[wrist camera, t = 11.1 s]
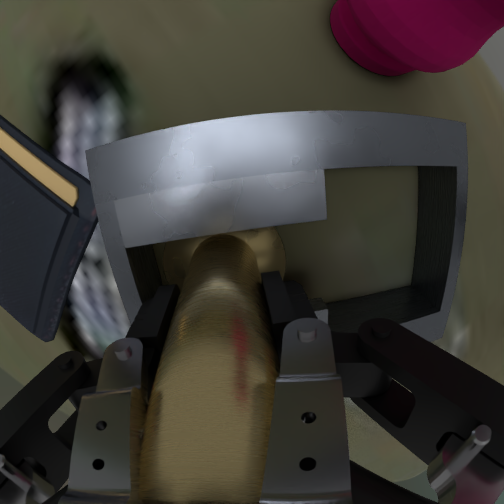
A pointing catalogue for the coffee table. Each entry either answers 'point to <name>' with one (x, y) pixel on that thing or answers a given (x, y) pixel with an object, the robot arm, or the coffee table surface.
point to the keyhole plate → (282, 197)
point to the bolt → (213, 373)
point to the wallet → (39, 230)
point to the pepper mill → (414, 32)
